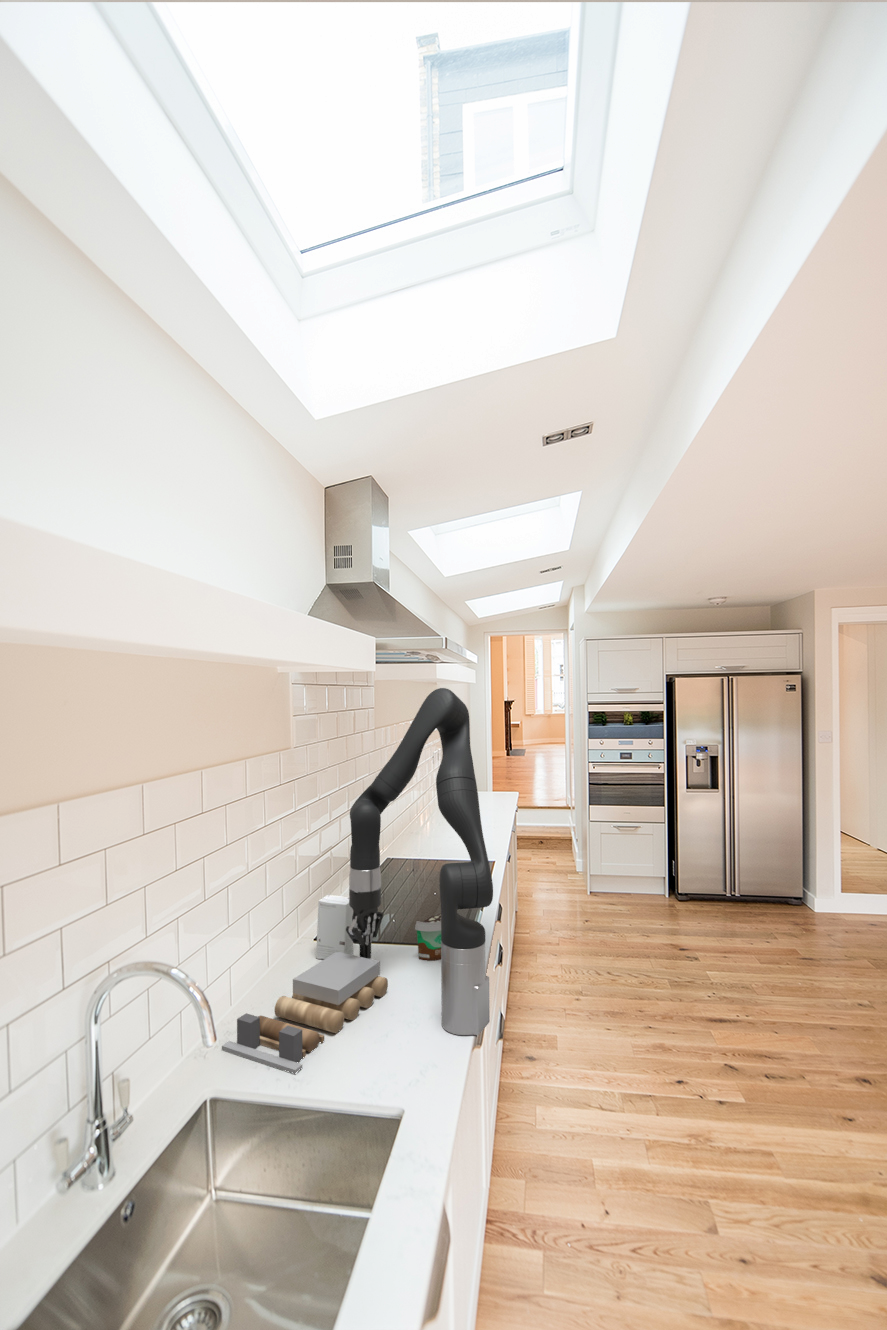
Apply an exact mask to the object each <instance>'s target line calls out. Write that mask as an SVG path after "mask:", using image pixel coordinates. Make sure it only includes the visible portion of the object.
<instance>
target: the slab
mask: <svg viewBox="0 0 887 1330" xmlns="http://www.w3.org/2000/svg"><path fill="white" fill-rule="evenodd" d="M380 974H381V961H380V960H376V959H372V958H370V959H368V958H363V957H360V955H359V956H358V955H354V954H352V955H350V954H345V953H341V952H336V953H334V954H332V955H331V956H329V957H328V958H326V959H322V960H321V961H319V962H318V963H316V964H314V965H313V966H312V967H310V968H308V969H307V970H305V971H304V972H302V973H300V974H299V975H297V976H295V977H294V978H293V979H292V994H293V993H294V994H298V995H302V996H306V997H309V998H313V999H317V1000H321V1001H324V1002H328V1003H332V1004H336V1005H340V1004H341V1003H342V1002H344V1001H345V1000H346V999H348V998H349V997H350V996H352V995H353V994H354V993H356V992H357V991H358V990H360V989H361V988H362V987H364V986H365V985H366V984H368V983H369V982H370V981H372V980H373V979H374V978H376V977H377V976H380Z"/></svg>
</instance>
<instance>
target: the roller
mask: <svg viewBox="0 0 887 1330" xmlns="http://www.w3.org/2000/svg"><path fill="white" fill-rule="evenodd" d="M257 1017H260V1036H262V1037H265V1038H269V1039H272V1040H275V1041H278V1042H279V1031H281V1030H282V1029H284V1028H285V1027H286V1026H291V1027H295V1028H298V1029H302V1049H304V1050H306V1052H308V1053H312V1052H313V1051H315V1050H316V1049H317V1048H318V1045H319V1044H320V1043H319V1034H320V1033H319V1031H316V1030H312V1029H309V1028H305V1027H302V1026H299V1025H295V1024H291V1023H288V1022H285V1021H281V1020H277V1019H274V1018H271V1017H267V1016H264V1015H259V1016H258V1015H257ZM316 1047H317V1048H316ZM315 1048H316V1049H315ZM314 1049H315V1050H314ZM312 1050H313V1051H312ZM311 1051H312V1052H311Z"/></svg>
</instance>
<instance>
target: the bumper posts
mask: <svg viewBox="0 0 887 1330" xmlns="http://www.w3.org/2000/svg"><path fill="white" fill-rule="evenodd" d="M259 1046H261V1045H260V1017H258V1015H254V1014H250V1013H247V1012H246V1013H245V1014H243V1015H241V1016H240V1017H238V1018H237V1019H236V1042H234V1041H230V1040H228V1041H226V1042H225V1043H224V1044H223V1045H221V1051H224V1052H226V1053H230V1054H232V1055H235V1056H239V1057H242V1058H245V1059H248V1060H251V1061H253V1062H256V1063H258V1064H259V1063H260V1064H261V1065H265V1066H268V1065H269V1067H271V1066H272V1067H271V1068H274V1067H276V1068H275V1069H277V1068H279V1069H278V1070H280V1069H282V1070H281V1071H283V1070H286V1071H289V1072H293V1073H296V1072H297V1071H298V1070H299V1069H301V1068H302V1069H303V1064H302V1063H299V1062H301V1061H302V1060H303V1058H302V1029H298V1028H295V1027H291V1026H286V1027H285V1028H284V1029H282V1030H281V1031H279V1051H278V1055H275V1054H271V1053H268V1052H265V1051H262V1050H259V1049H257V1048H258V1047H259ZM301 1059H302V1060H301ZM300 1060H301V1061H300ZM297 1062H298V1063H297ZM286 1071H285V1072H286ZM289 1072H288V1073H289Z"/></svg>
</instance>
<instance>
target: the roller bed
mask: <svg viewBox="0 0 887 1330" xmlns="http://www.w3.org/2000/svg"><path fill="white" fill-rule="evenodd" d="M388 987H389V980H388V979H387V977H384V976H380V975H378V976H377V977H376V978H374V979H373V980H372V981H370V982H369V983H368V984H366V985H365V986H364V987H362V988H361V989H360V990H358V991H357V992H356V993H354V994H353V995H352V996H350V997H349V998H348V999H346V1000H345V1001H344V1002H342V1003H341V1004H340V1005H336V1004H332V1003H328V1002H324V1001H321V1000H317V999H313V998H309V997H306V996H302V995H298V994H294V993H293V992H292V996H291V997H288V996H285V995H282V996H280V997H278V999H277V1001H276V1003H275V1005H274V1014H275V1016H276V1017H278V1018H282V1019H285V1020H289V1021H292V1022H296V1023H298V1024H301V1025H305V1026H309V1027H313V1028H316V1029H319V1030H323V1031H326V1032H329V1033H334V1034H338V1033H339V1032H340V1031H342V1028H343V1026H344V1024H345V1019H346V1020H350V1021H355V1020H356V1019H357V1017H358V1015H359V1013H360V1009H361V1008H365V1009H369V1008H371V1006H372V1005H373V1003H374V1000H375V996H376V997H380V998H382V997H384V996H385V995H386V993H387V990H388ZM339 1030H340V1031H339ZM338 1031H339V1032H338ZM337 1032H338V1033H337ZM323 1041H324V1042H325V1035H324V1034H320V1033H319V1042H321V1043H320V1044H323V1043H324V1042H323ZM260 1046H262V1047H266V1048H269V1049H273V1050H274V1051H275V1050H276V1051H277V1052H279V1042H278V1041H275V1040H272V1039H269V1038H265V1037H262V1036H260ZM305 1056H307V1051H306V1050H304V1049H302V1059H304V1058H306V1057H305ZM303 1057H304V1058H303Z"/></svg>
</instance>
